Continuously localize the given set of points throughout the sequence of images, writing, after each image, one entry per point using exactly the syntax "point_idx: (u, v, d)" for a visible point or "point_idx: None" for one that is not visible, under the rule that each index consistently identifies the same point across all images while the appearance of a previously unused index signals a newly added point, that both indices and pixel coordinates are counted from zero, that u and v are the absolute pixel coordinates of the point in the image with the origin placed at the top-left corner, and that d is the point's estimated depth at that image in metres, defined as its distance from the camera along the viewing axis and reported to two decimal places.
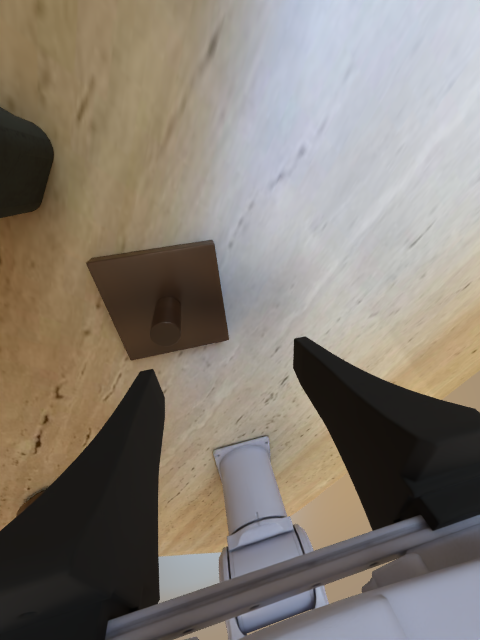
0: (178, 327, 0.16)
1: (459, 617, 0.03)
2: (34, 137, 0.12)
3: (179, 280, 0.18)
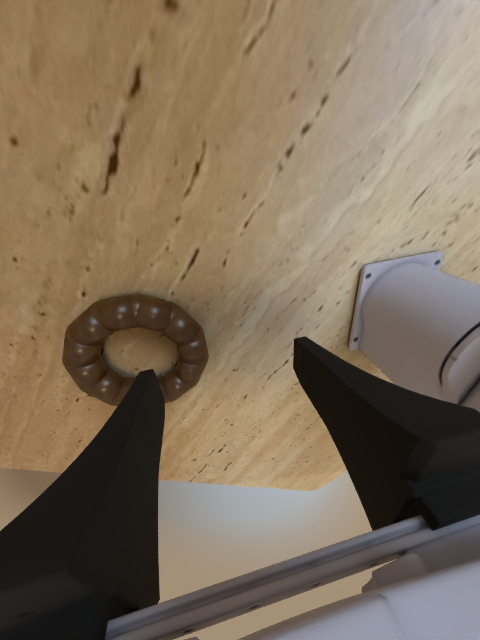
0: None
1: (459, 617, 0.03)
2: None
3: None
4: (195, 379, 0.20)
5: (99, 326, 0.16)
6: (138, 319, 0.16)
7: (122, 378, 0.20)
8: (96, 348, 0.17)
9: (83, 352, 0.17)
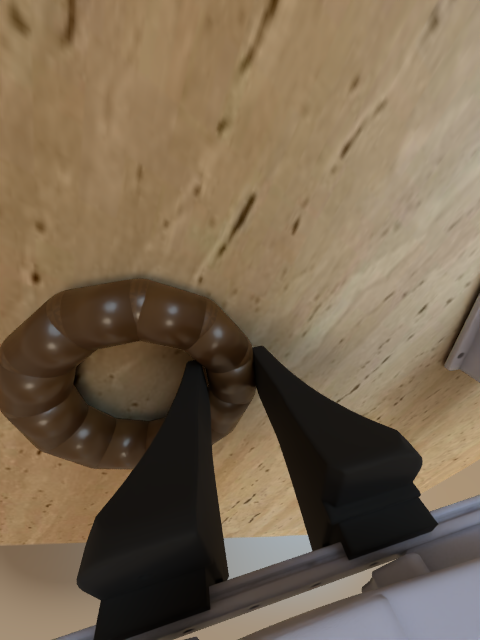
0: None
1: (459, 617, 0.03)
2: None
3: None
4: (233, 424, 0.12)
5: (63, 341, 0.08)
6: (142, 327, 0.08)
7: (113, 422, 0.12)
8: (62, 379, 0.09)
9: (35, 389, 0.09)
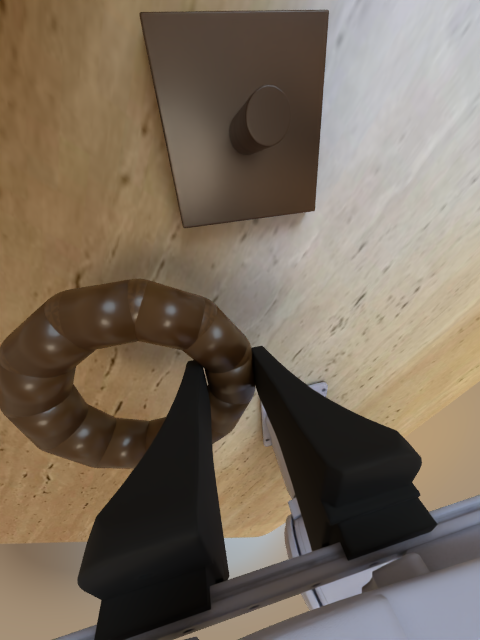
0: (289, 106, 0.10)
1: (459, 617, 0.03)
2: None
3: (269, 80, 0.12)
4: (233, 424, 0.12)
5: (62, 341, 0.08)
6: (141, 327, 0.08)
7: (113, 421, 0.12)
8: (62, 379, 0.09)
9: (34, 389, 0.09)
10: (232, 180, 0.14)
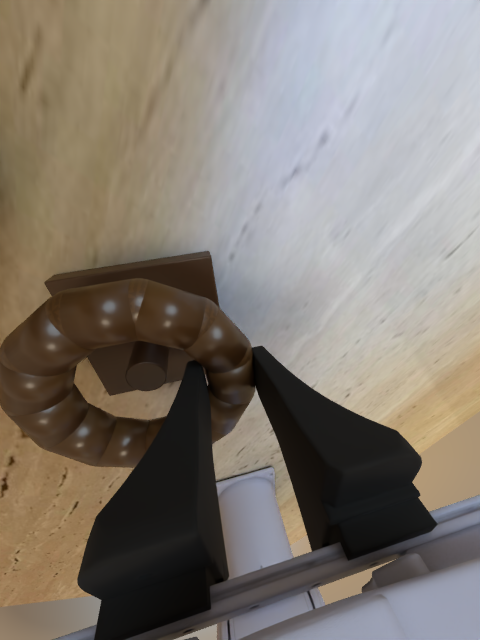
0: (163, 367, 0.12)
1: (459, 617, 0.03)
2: None
3: None
4: (233, 424, 0.12)
5: (63, 340, 0.08)
6: (141, 327, 0.08)
7: (113, 420, 0.12)
8: (62, 378, 0.09)
9: (35, 387, 0.09)
10: None
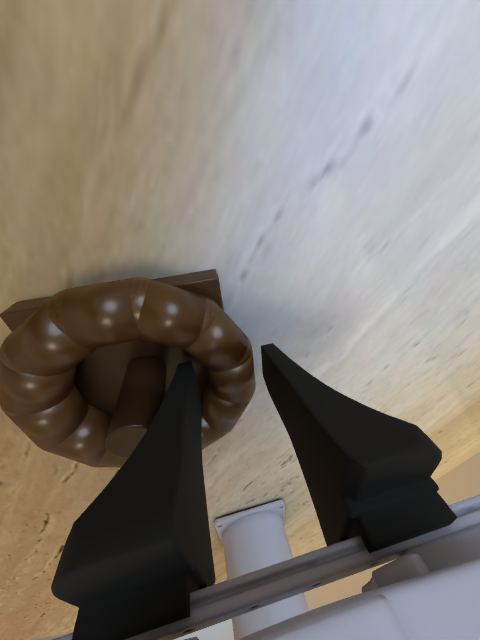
0: None
1: (459, 617, 0.03)
2: None
3: None
4: (233, 422, 0.12)
5: (64, 339, 0.08)
6: (143, 325, 0.08)
7: None
8: (63, 378, 0.09)
9: (36, 387, 0.09)
10: None
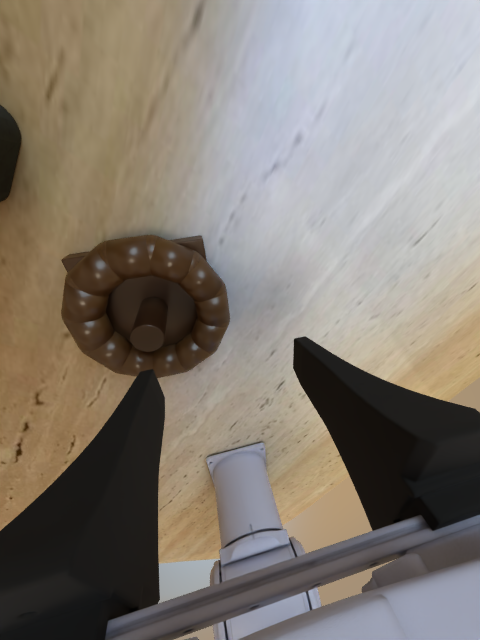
0: (161, 330, 0.14)
1: (459, 617, 0.03)
2: None
3: (164, 279, 0.17)
4: (214, 345, 0.18)
5: (107, 268, 0.13)
6: (153, 262, 0.14)
7: (130, 343, 0.18)
8: (102, 300, 0.15)
9: (87, 302, 0.14)
10: None
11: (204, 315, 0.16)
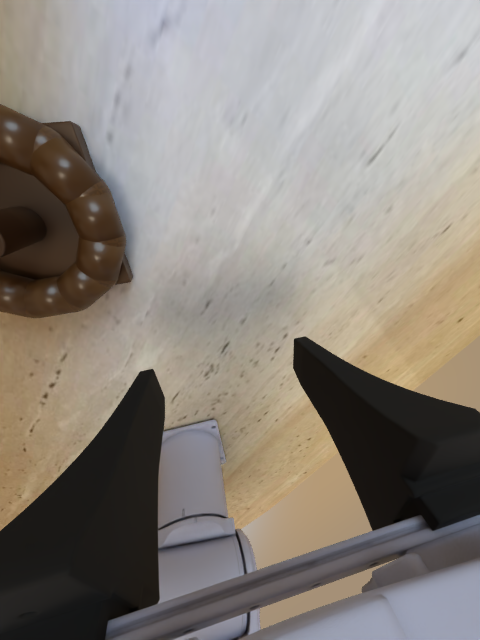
0: None
1: (459, 617, 0.03)
2: None
3: (31, 181, 0.13)
4: (104, 271, 0.14)
5: None
6: None
7: None
8: None
9: None
10: (28, 263, 0.15)
11: (78, 225, 0.13)
